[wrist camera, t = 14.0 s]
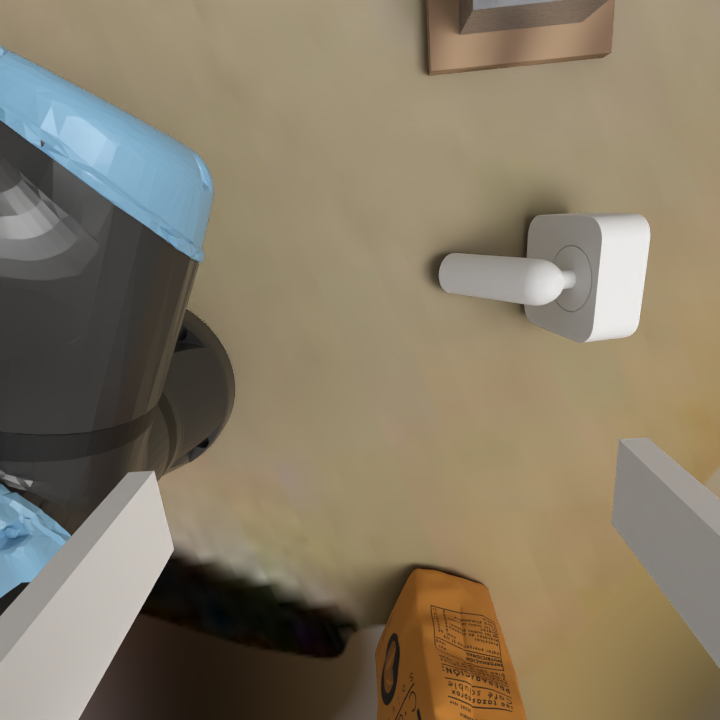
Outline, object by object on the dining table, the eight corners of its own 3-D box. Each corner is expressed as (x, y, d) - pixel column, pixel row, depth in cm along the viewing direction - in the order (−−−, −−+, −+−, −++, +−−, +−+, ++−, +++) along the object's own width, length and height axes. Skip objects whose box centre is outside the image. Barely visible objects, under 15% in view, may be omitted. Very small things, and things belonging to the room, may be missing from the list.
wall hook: (432, 219, 37) (496, 224, 27) (555, 211, 38) (654, 213, 29) (433, 323, 39) (491, 360, 30) (548, 311, 41) (637, 342, 32)
